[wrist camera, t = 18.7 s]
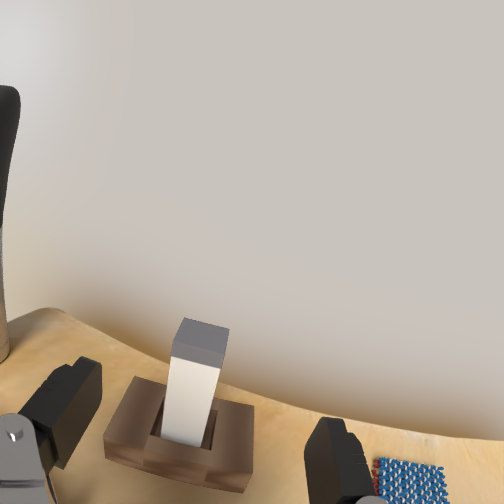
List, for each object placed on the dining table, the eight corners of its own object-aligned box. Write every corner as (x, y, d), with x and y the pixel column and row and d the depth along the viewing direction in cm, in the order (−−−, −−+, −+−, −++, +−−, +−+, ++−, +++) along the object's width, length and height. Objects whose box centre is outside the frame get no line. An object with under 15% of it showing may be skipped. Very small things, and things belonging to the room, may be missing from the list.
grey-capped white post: (158, 448, 27) (173, 340, 24) (167, 422, 31) (184, 317, 28) (197, 458, 27) (224, 354, 24) (203, 431, 31) (229, 328, 28)
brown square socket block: (105, 458, 24) (103, 435, 23) (133, 399, 34) (134, 375, 33) (242, 493, 25) (252, 473, 24) (245, 428, 35) (254, 406, 34)
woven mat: (369, 461, 32) (376, 452, 32) (435, 472, 30) (443, 463, 29) (366, 524, 22) (375, 516, 22) (443, 530, 20) (453, 521, 19)
